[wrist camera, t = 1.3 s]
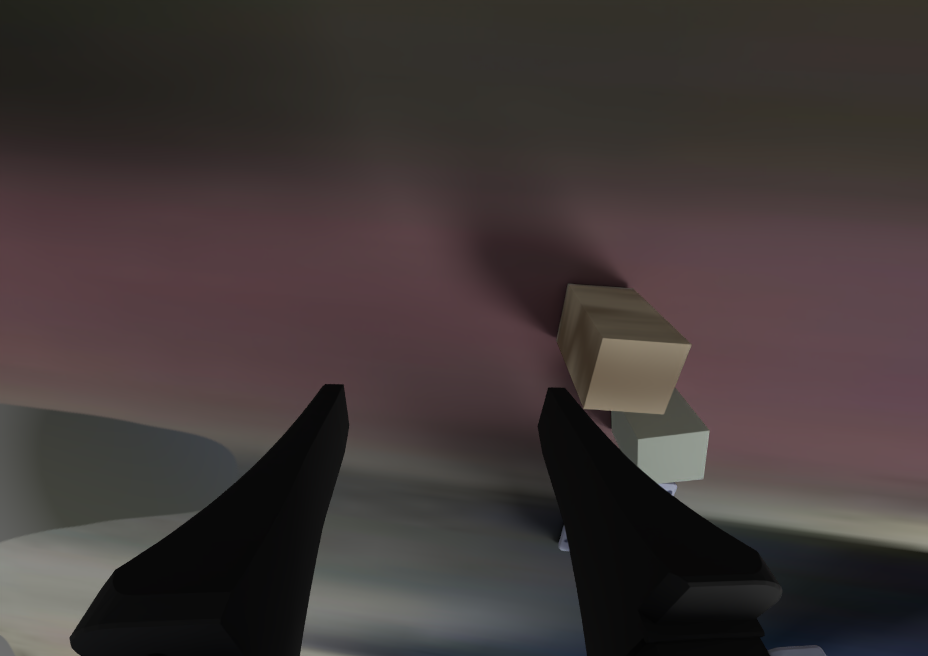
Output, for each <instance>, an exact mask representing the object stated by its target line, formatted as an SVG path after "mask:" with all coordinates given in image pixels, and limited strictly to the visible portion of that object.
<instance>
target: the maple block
mask: <svg viewBox="0 0 928 656" xmlns="http://www.w3.org/2000/svg"><path fill="white" fill-rule="evenodd" d="M556 341H557V344H558V346H559V349H560V351H561V354H562V356H563V358H564V361H565V363H566V366H567V368H568V371H569V373H570V376H571V378H572V381H573V383H574V386H575V388H576V391H577V393H578V396H579V398H580V401H581V403H582V406H583V408H584V409H594V410H608V411H622V412H636V413H650V414H664V413H665V410H666V408H667V405H668V403H669V400H670V398H671V395H672V393H673V390H674V388H675V385H676V383H677V380H678V378H679V375H680V372H681V370H682V367H683V365H684V362H685V360H686V357H687V355H688V352H689V350H690V347H691V344H690V343H689V342H688V341H687V340H686V339H685V338H684V337H683V336H682V335H681V334H680V333H679V332H678V331H677V330H676V329H675V328H674V327H673V326H672V325H671V324H670V323H668V322H667V321H666V320H665V319H664V318H663V317H662V316H661V315H660V314H659V313H658V312H657V311H656V310H655V309H654V308H653V307H652V306H651V305H650V304H649V303H648V302H646V301H645V300H644V299H643V298H642V297H641V296H640V295H639V294H638V293H637V292H636V291H635V290H634V289H633V288H620V287H607V286H593V285H580V284H568V286H567V291H566V296H565V301H564V306H563V311H562V315H561V320H560V325H559V330H558V335H557V339H556Z"/></svg>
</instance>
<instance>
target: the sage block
mask: <svg viewBox="0 0 928 656" xmlns="http://www.w3.org/2000/svg"><path fill="white" fill-rule="evenodd" d="M611 420H612V433H613V435H614V437H615V439H616V441H617V444H618V446H619V448H620V450H621V451H622V452H623V453H624V454H625V455H626V456H627V457H628V458H629V459H630V460H631V461H632V462H633V463H634V464H635V465H636V466H638V467H639V468H640V469H641V470H642V471H643V472H644V473H646V474H647V475H648V476H649V477H650V478H651V479H652V480H654V481H655V482H656V483H657V484H662V483H671V482H680V481H689V480H699V479H703V477H704V470H705V462H706V454H707V446H708V438H709V429H708V428H707V427H706V426H705V424H704V423H703V422H702V421H701V419H700V418H699V417H698V416H697V414H696V413H695V412H694V411H693V409H692V408H691V407H690V406H689V404H688V403H687V402H686V401H685V399H684V398H683V397H682V396H681V394H680V393H679V392H678V391H677V389H676V388H674V390H673V393H672V395H671V398H670V400H669V403H668V405H667V408H666V410H665V413H664V414H650V413H636V412H622V411H611Z"/></svg>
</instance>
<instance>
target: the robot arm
mask: <svg viewBox="0 0 928 656" xmlns="http://www.w3.org/2000/svg"><path fill="white" fill-rule="evenodd" d="M348 430H349V420H348V412H347V405H346V398H345V391H344V384H325V385H324V386H323V387H322V388H321V389H320V391H319V392H318V393H317V395H316V396H315V397H314V399H313V400H312V401H311V402H310V404H309V405H308V406H307V408H306V409H305V410H304V411H303V413H302V414H301V415H300V416H299V417H298V419H297V420H296V421H295V422H294V423H293V424H292V426H291V427H290V428H289V429H288V430H287V432H286V433H285V434H284V435H283V436H282V437H281V438H280V439H279V440H278V441H277V442H276V443H275V445H274V446H273V447H272V448H271V449H270V450H269V451H268V452H267V453H266V454H265V455H264V456H263V457H262V458H261V459H260V460H259V461H258V462H257V463H256V464H255V465H254V466H253V467H252V468H251V469H250V470H249V471H248V472H247V473H245V474H244V475H243V476H242V477H241V478H240V479H239V480H238V481H237V482H236V483H234V484H233V485H232V486H231V487H230V488H229V489H227V491H225V492H224V493H223V494H222V495H221V496H219V497H218V498H217V499H216V500H214V501H213V502H212V503H211V504H209V505H208V506H207V507H206V508H204V509H203V510H202V511H200V512H199V513H198V514H196V515H195V516H194V517H192V518H191V519H190V520H188V521H187V522H186V523H184V524H183V525H182V526H180V527H179V528H178V529H176V530H175V531H173V532H172V533H171V534H169V535H168V536H166V537H165V538H164V539H162V540H161V541H159V542H158V543H156V544H155V545H153V546H152V547H150V548H148V549H147V550H145V551H144V552H142V553H141V554H139V555H138V556H136V557H135V558H133V559H132V560H130V561H129V562H127V563H126V564H124V565H122V566H121V567H119V568H118V569H116V570H115V571H114V572H113V574H112V575H111V576H110V578H109V579H108V580H107V582H106V583H105V584H104V586H103V587H102V588H101V590H100V591H99V593H98V594H97V596H96V598H95V599H94V601H93V602H92V604H91V605H90V607H89V608H88V610H87V612H86V613H85V615H84V616H83V618H82V619H81V621H80V622H79V624H78V625H77V627H76V629H75V630H74V632H73V633H72V635H71V636H70V644H71V647H72V649H73V650H74V651H75V652H76V653H78V654H79V655H81V656H300V651H301V644H302V638H303V631H304V625H305V620H306V614H307V608H308V602H309V596H310V590H311V585H312V580H313V574H314V569H315V564H316V558H317V553H318V548H319V543H320V538H321V533H322V529H323V525H324V521H325V517H326V514H327V510H328V507H329V504H330V500H331V497H332V494H333V490H334V487H335V484H336V480H337V477H338V474H339V470H340V467H341V463H342V460H343V457H344V453H345V448H346V442H347V436H348ZM538 431H539V437H540V443H541V448H542V453H543V457H544V460H545V463H546V467H547V470H548V473H549V476H550V479H551V483H552V486H553V489H554V492H555V495H556V499H557V502H558V505H559V508H560V511H561V515H562V519H563V522H564V526H563V530H562V533H561V537H560V540H559V544H558V545H559V549H560V550H562V551H570V555H571V560H572V566H573V571H574V576H575V582H576V587H577V593H578V599H579V605H580V611H581V617H582V624H583V631H584V637H585V644H586V651H587V656H826V654H825V653H824V651H823V650H822V648H820V647H818V646H816V645H814V646H795V647H781V648H775V649H771V650H769V651H767V649H766V648H765V646H764V644H763V642H762V641H761V639H760V637H763V636H764V630H763V629H762V627H761V625H760V624H759V622H758V620H757V617H759V616H760V615H761V614H763V613H764V612H765V611H767V610H768V609H769V608H770V607H772V606H773V605H774V604H775V603H776V602H777V601H779V600H780V597H781V595H782V588H781V586H780V584H779V583H778V581H777V580H776V578H775V577H774V575H773V574H772V572H771V571H770V569H769V568H768V566H767V565H766V563H765V562H764V560H763V559H762V557H761V556H760V555H759V553H758V552H757V551H756V550H754V549H752V548H751V547H749V546H747V545H746V544H744V543H743V542H741V541H739V540H738V539H736V538H734V537H733V536H731V535H729V534H728V533H726V532H724V531H723V530H721V529H720V528H718V527H716V526H715V525H713V524H712V523H711V522H709V521H708V520H706V519H705V518H703V517H702V516H700V515H699V514H697V513H696V512H694V511H693V510H692V509H690V508H689V507H687V506H686V505H685V504H683V503H682V502H680V501H679V500H678V499H677V498H675V497H674V496H673V495H674V493H675V491H676V489H677V485H676V483H675V482H671V483H662V484H657V483H656V482H655V481H654V480H652V479H651V478H650V477H649V476H648V475H647V474H646V473H644V472H643V471H642V470H641V469H640V468H639V467H638V466H636V465H635V464H634V463H633V462H632V461H631V460H630V459H629V458H628V457H627V456H626V455H625V454H624V453H623V452H622V451H621V450H620V449H619V448H618V447H617V446H616V445H615V444H614V443H613V442H612V441H611V440H610V439H609V438H608V437H607V436H606V435H605V434H604V433H603V431H602V430H601V429H600V428H599V427H598V426H597V425H596V424H595V423H594V421H593V420H592V419H591V418H590V417H589V416H588V415H587V413H586V412H585V411H584V410H583V409H582V408H581V406H580V405H579V404H578V403H577V402H576V400H575V399H574V398H573V397H572V396H571V394H570V393H569V392H568V391H567V390H566V389H565V388H548V390H547V394H546V398H545V401H544V405H543V409H542V412H541V416H540V420H539V423H538Z"/></svg>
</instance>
